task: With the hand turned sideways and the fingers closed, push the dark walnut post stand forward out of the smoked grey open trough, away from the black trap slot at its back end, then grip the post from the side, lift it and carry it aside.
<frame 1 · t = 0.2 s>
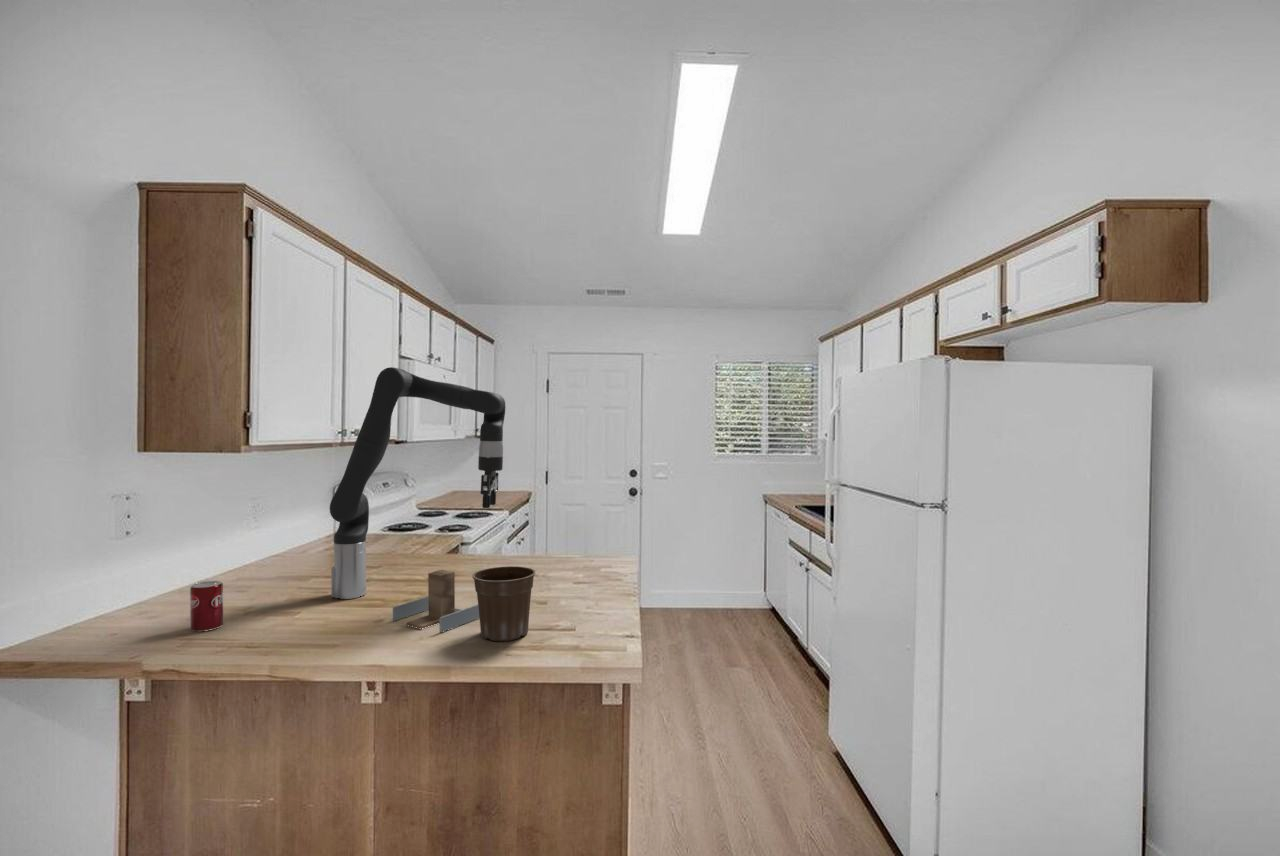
hand: (489, 506, 196), 29 cm above the worktop, tool pointing down, fingers open, 8 cm apart
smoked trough: (439, 618, 174), on the worktop
walnut post stand: (441, 618, 174), on the worktop
soda can: (207, 629, 166), on the worktop
plant pot: (504, 634, 162), on the worktop
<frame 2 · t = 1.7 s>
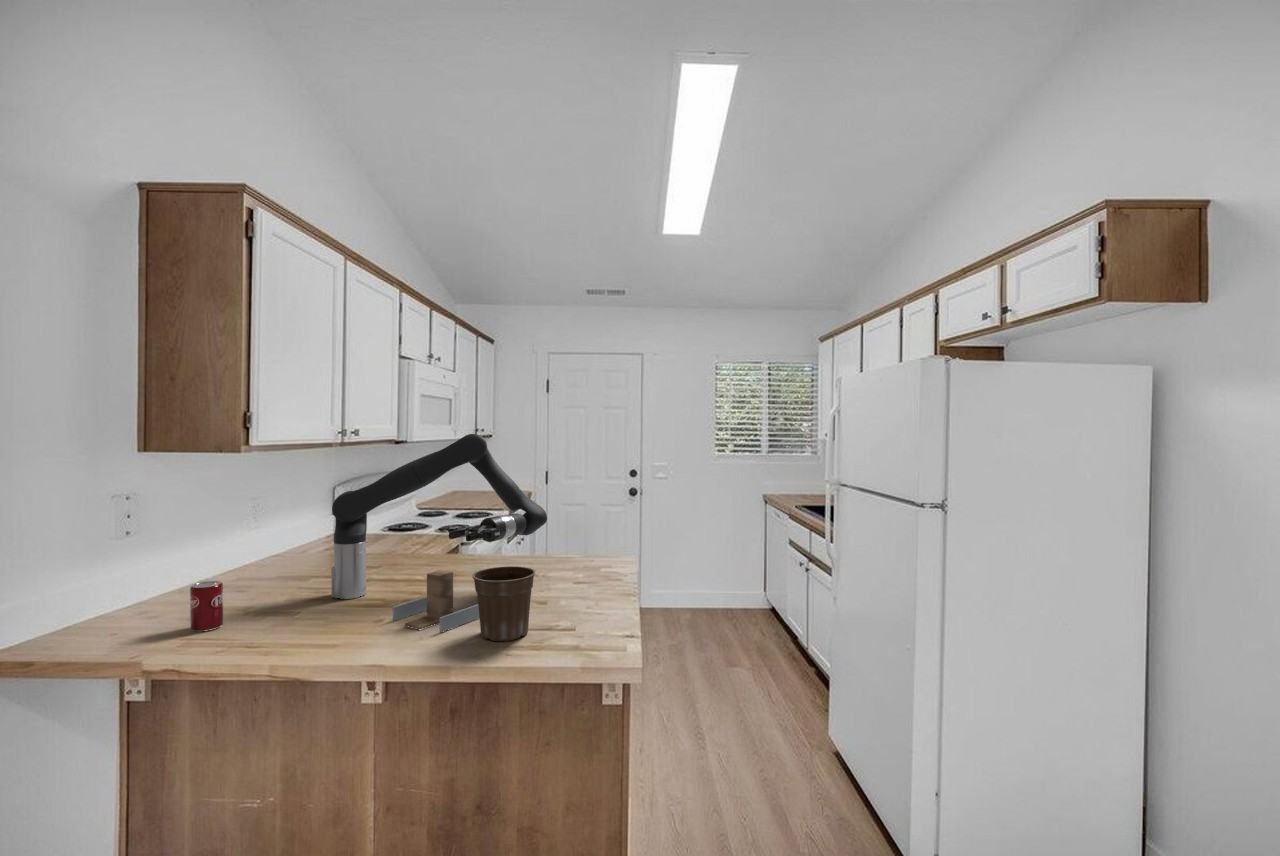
hand: (458, 536, 180), 22 cm above the worktop, tool horizontal, fingers open, 6 cm apart
nothing on the worktop moved.
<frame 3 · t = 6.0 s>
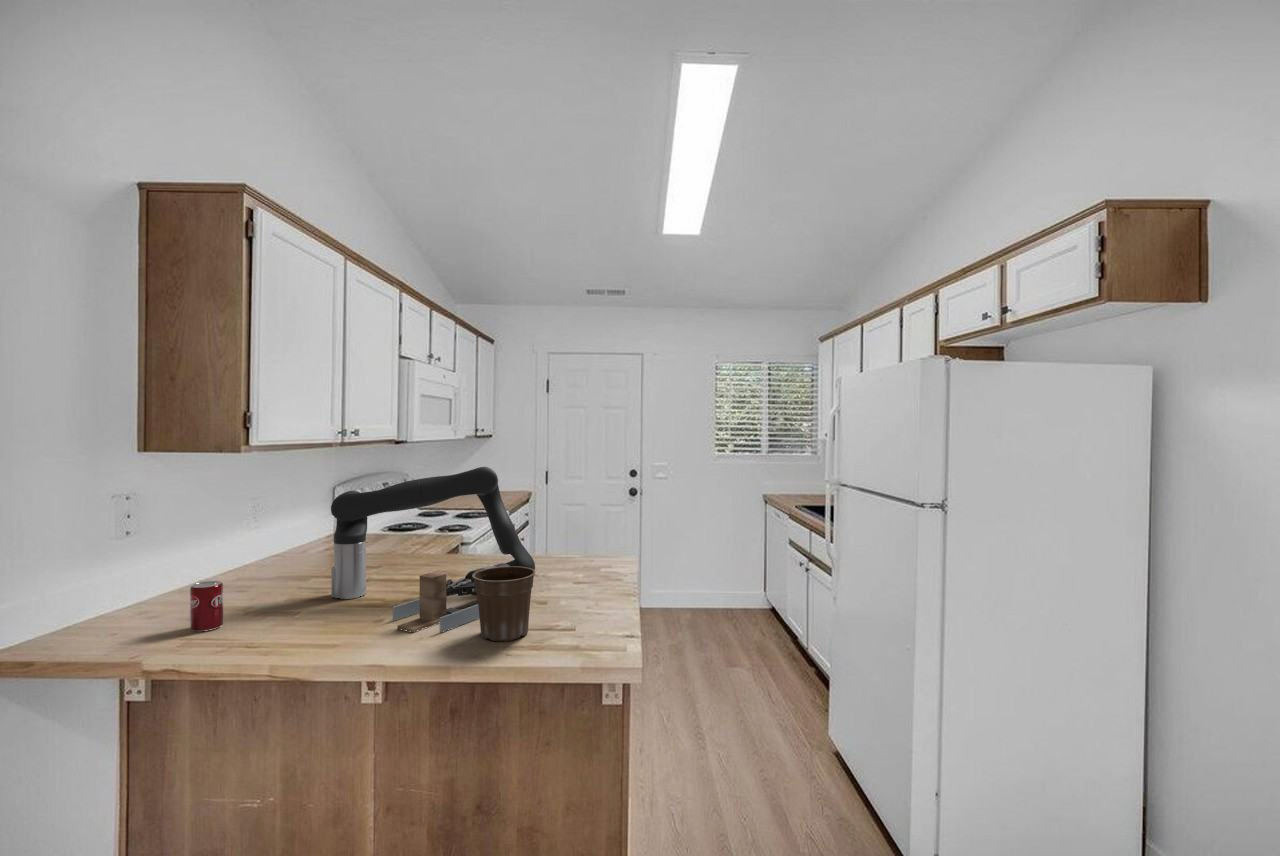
hand: (440, 593, 174), 7 cm above the worktop, tool horizontal, fingers closed
walnut post stand: (433, 621, 172), on the worktop, touching gripper
everything else where it was.
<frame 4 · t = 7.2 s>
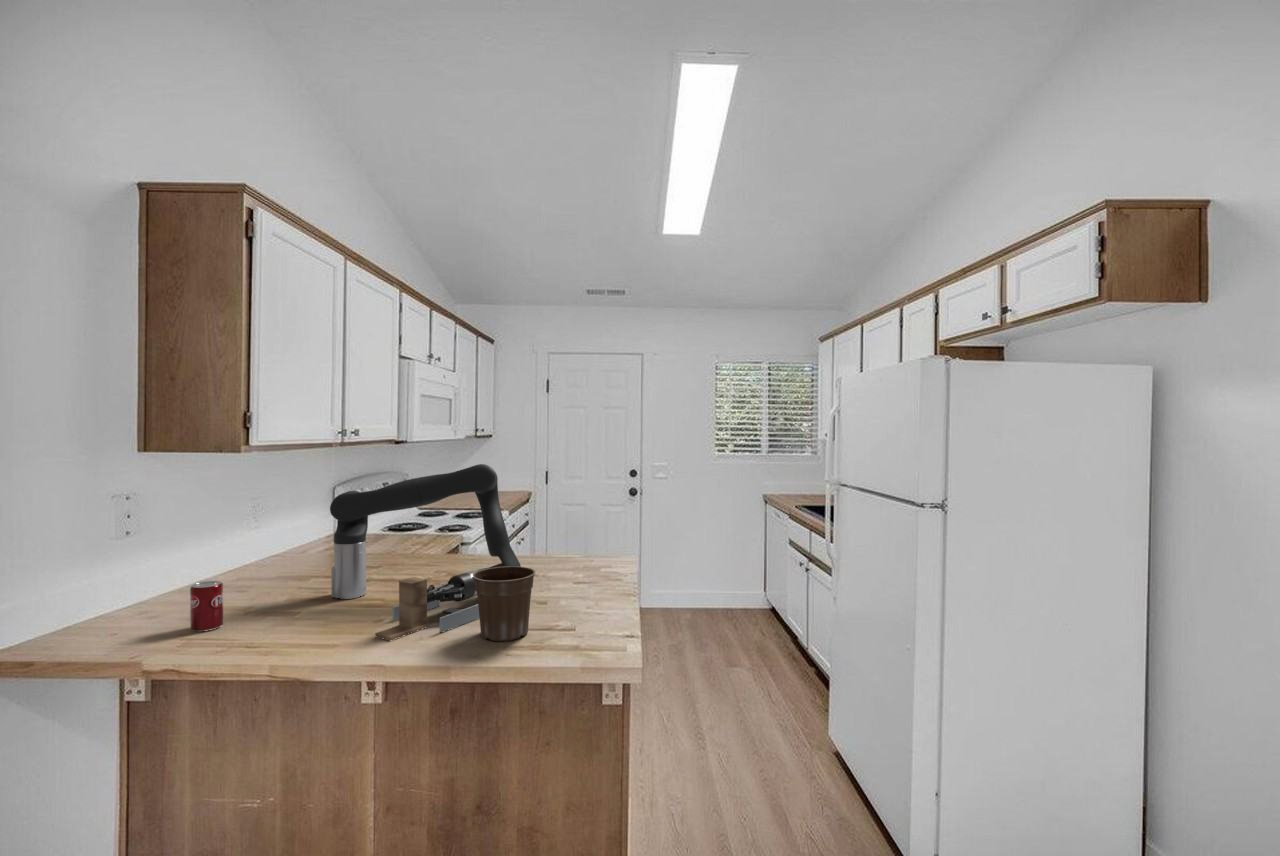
hand: (420, 600, 168), 7 cm above the worktop, tool horizontal, fingers closed
walnut post stand: (413, 628, 166), on the worktop, touching gripper
everything else where it was.
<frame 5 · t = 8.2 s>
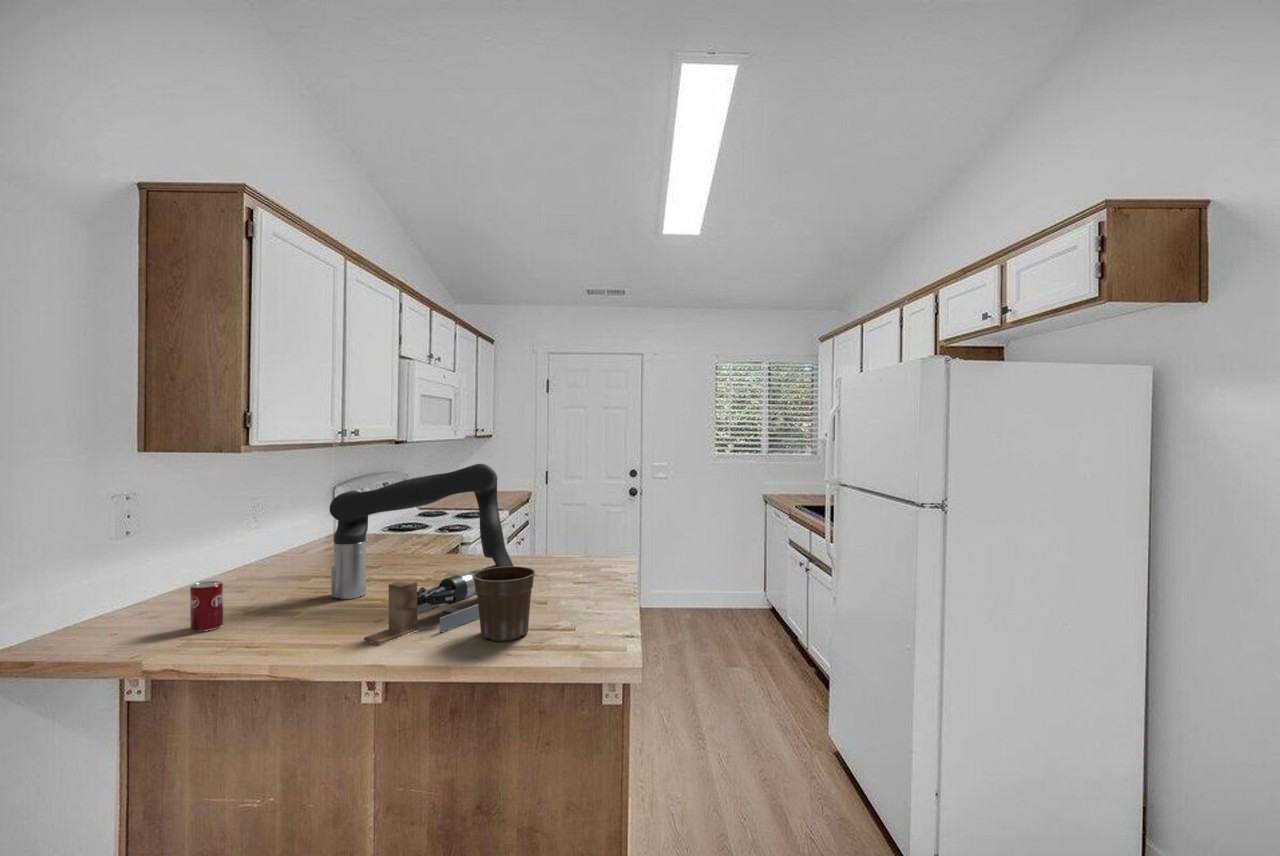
hand: (410, 603, 165), 7 cm above the worktop, tool horizontal, fingers closed
walnut post stand: (403, 632, 163), on the worktop, touching gripper
everything else where it was.
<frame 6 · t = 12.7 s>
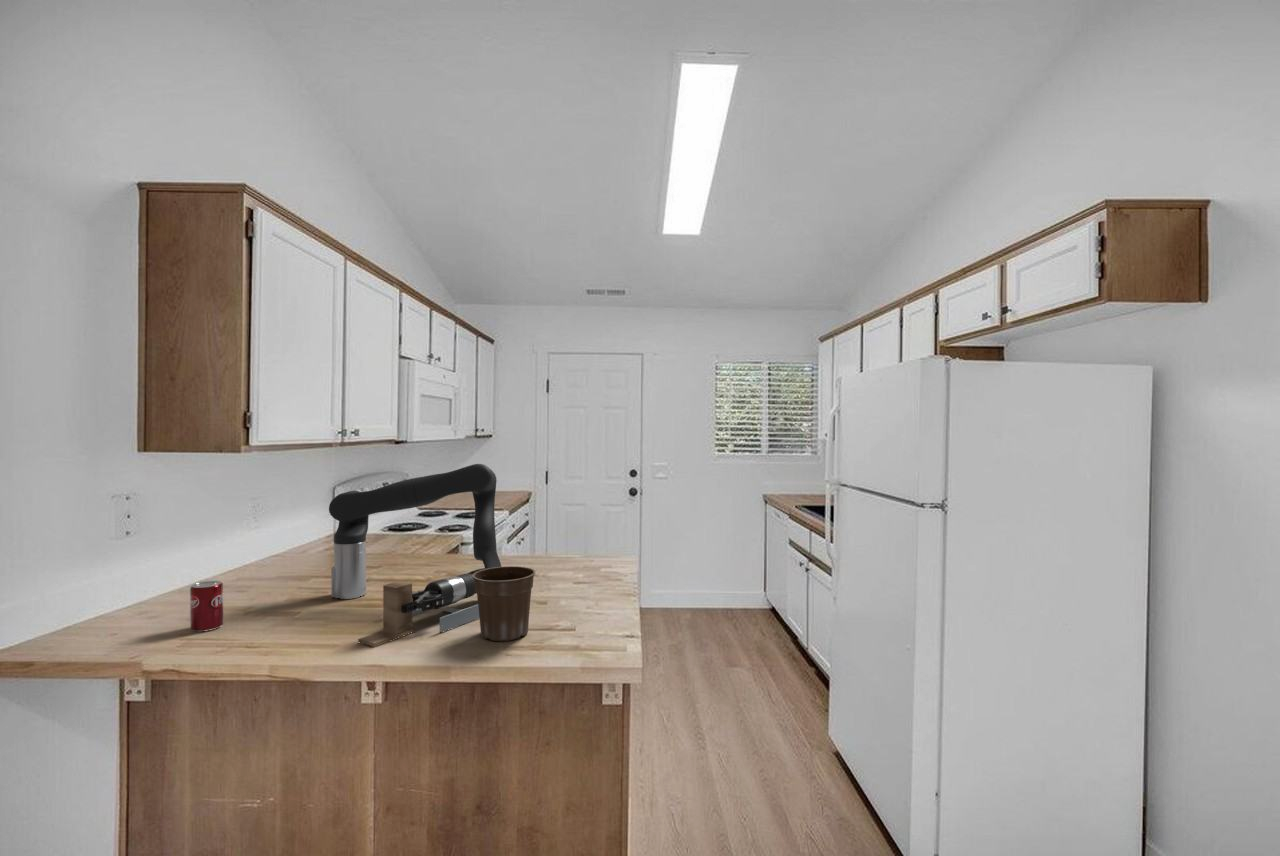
hand: (395, 607, 161), 7 cm above the worktop, tool horizontal, fingers closed on walnut post stand, 5 cm apart
walnut post stand: (397, 633, 162), on the worktop, touching gripper
everything else where it was.
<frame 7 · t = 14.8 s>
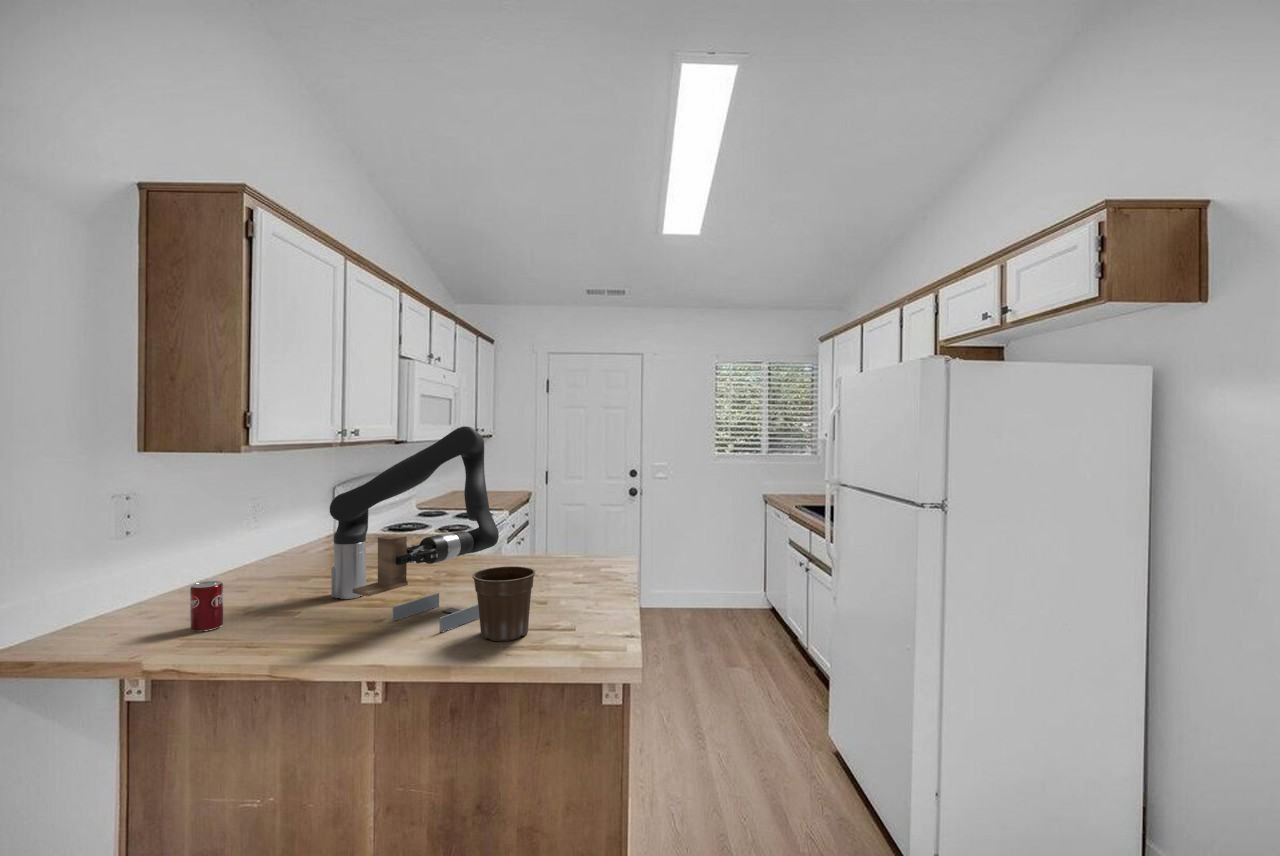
hand: (389, 559, 162), 19 cm above the worktop, tool horizontal, fingers closed on walnut post stand, 5 cm apart
walnut post stand: (392, 585, 162), point 12 cm above the worktop, touching gripper
everything else where it was.
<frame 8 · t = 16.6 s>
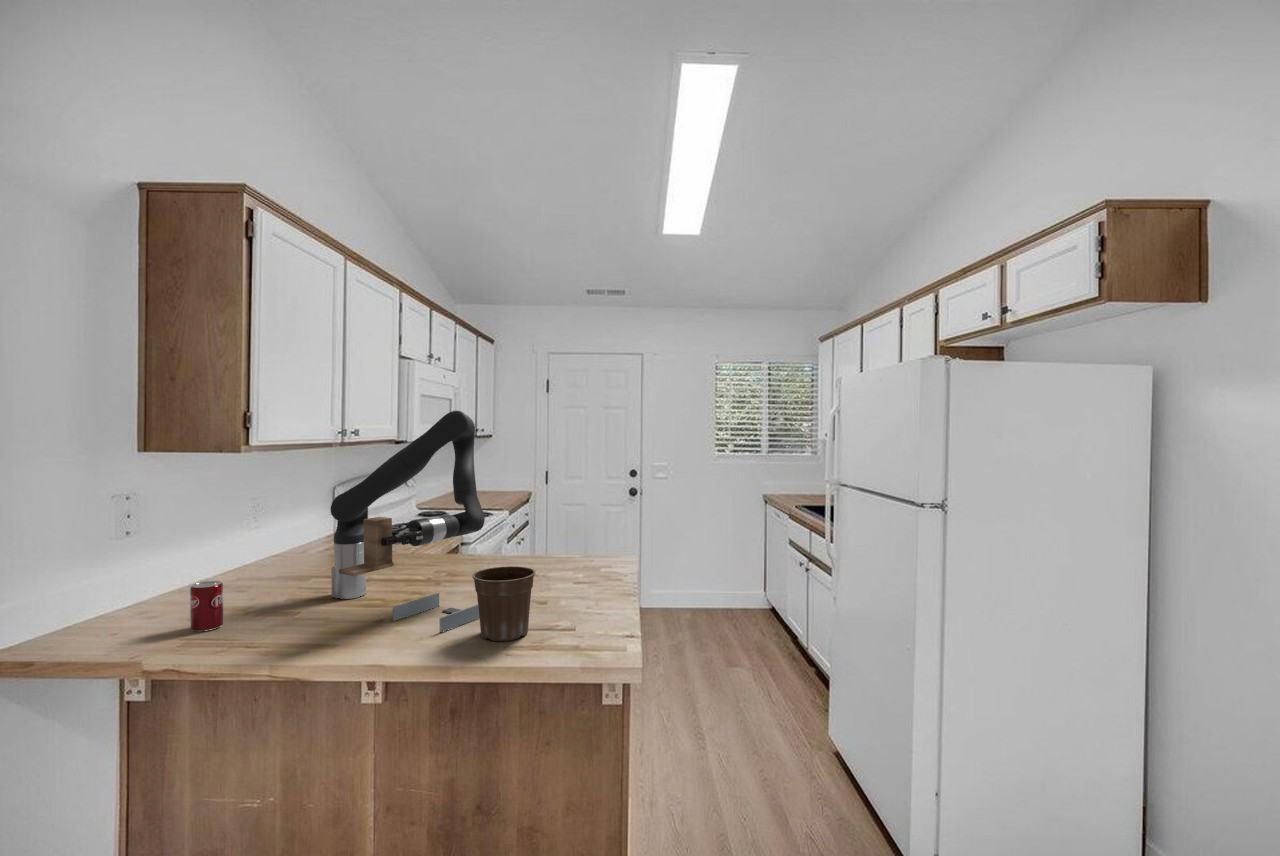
hand: (375, 541, 165), 24 cm above the worktop, tool horizontal, fingers closed on walnut post stand, 5 cm apart
walnut post stand: (378, 566, 165), point 17 cm above the worktop, touching gripper
everything else where it was.
at the end: the gripper is holding walnut post stand; walnut post stand point 16.6 cm above the worktop; walnut post stand moved 23.6 cm from its start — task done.
